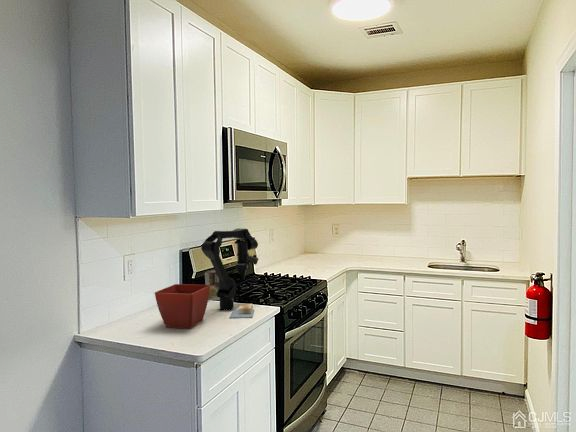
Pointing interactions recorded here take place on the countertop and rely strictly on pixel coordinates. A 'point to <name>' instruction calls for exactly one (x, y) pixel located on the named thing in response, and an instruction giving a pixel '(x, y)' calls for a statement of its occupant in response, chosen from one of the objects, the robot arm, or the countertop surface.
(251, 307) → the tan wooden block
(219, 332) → the countertop surface
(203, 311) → the plant pot
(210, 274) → the coffee box
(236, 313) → the mat
